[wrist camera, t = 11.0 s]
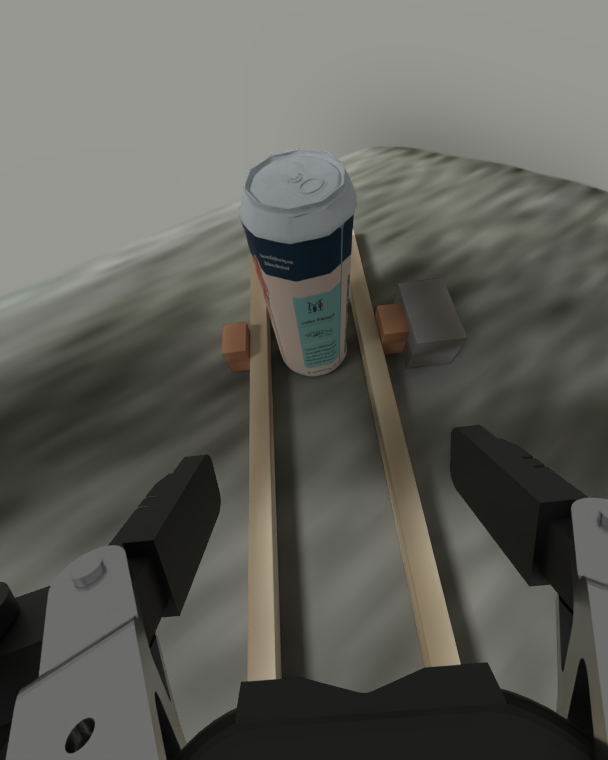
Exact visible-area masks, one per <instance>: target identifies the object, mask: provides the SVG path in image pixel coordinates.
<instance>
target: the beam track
mask: <svg viewBox="0 0 608 760" xmlns="http://www.w3.org/2000/svg"><path fill="white" fill-rule="evenodd" d="M349 298H350V303H351V308H352V313H353V318H354V322H355V327H356V332H357V337H358V342H359V347H360V352H361V357H362V362H363V367H364V372H365V377H366V382H367V386H368V391H369V396H370V401H371V406H372V411H373V416H374V421H375V426H376V431H377V436H378V441H379V445H380V450H381V455H382V460H383V465H384V470H385V475H386V480H387V485H388V490H389V495H390V500H391V505H392V509H393V514H394V519H395V524H396V529H397V534H398V539H399V544H400V549H401V554H402V559H403V564H404V569H405V573H406V578H407V583H408V588H409V593H410V598H411V603H412V608H413V613H414V618H415V623H416V628H417V633H418V637H419V642H420V647H421V652H422V657H423V662H424V667H436V666H449V665H461V663H460V659H459V655H458V651H457V647H456V643H455V639H454V635H453V631H452V627H451V623H450V619H449V615H448V611H447V607H446V603H445V598H444V594H443V590H442V586H441V582H440V578H439V574H438V570H437V566H436V562H435V558H434V554H433V550H432V546H431V542H430V538H429V534H428V530H427V526H426V522H425V518H424V514H423V509H422V505H421V501H420V497H419V493H418V489H417V485H416V481H415V477H414V473H413V469H412V465H411V461H410V457H409V453H408V449H407V445H406V441H405V437H404V433H403V429H402V425H401V420H400V416H399V412H398V408H397V404H396V400H395V396H394V392H393V388H392V384H391V380H390V376H389V372H388V368H387V364H386V360H385V356H384V355H387V354H396V353H402V355H403V359H404V362H405V366H406V369H407V368H415V367H424V366H433V365H442V364H450V363H451V362H452V360H453V359H454V357H455V356H456V354H457V353H458V351H459V350H460V349H461V347H462V346H463V344H464V343H465V341H466V340H467V338H468V337H467V335H466V332H465V330H464V327H463V325H462V323H461V320H460V318H459V316H458V313H457V311H456V308H455V306H454V304H453V301H452V299H451V296H450V294H449V292H448V289H447V287H446V285H445V282H444V280H443V278H435V279H427V280H419V281H412V282H404V283H398V285H397V289H396V293H395V297H394V301H393V304H387V305H379V306H377V309H376V314H375V315H374V311H373V307H372V303H371V299H370V295H369V291H368V287H367V283H366V279H365V275H364V271H363V267H362V263H361V259H360V255H359V251H358V247H357V243H356V238H355V234H354V230H353V233H352V251H351V268H350V285H349ZM221 354H222V356H223V357H224V359H225V360H226V362H227V364H228V365H229V367H230V368H231V370H232V372H240V371H248V370H250V437H249V572H248V681H259V680H272V679H282V670H281V640H280V609H279V579H278V548H277V517H276V487H275V456H274V425H273V395H272V364H271V333H270V315H269V312H268V309H267V305H266V302H265V299H264V295H263V292H262V289H261V285H260V282H259V279H258V275H257V272H256V269H255V265H254V262H253V258H252V255H251V301H250V330H249V328H248V326H247V323H246V322H240V323H232V324H223V335H222V351H221Z"/></svg>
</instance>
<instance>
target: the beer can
mask: <svg viewBox="0 0 608 760" xmlns="http://www.w3.org/2000/svg"><path fill="white" fill-rule="evenodd" d="M243 189H244V193H243V199H242V202H241V205H240V218H241V222H242V225H243V228H244V232H245V235H246V238H247V242H248V245H249V248H250V252H251V255H252V258H253V262H254V265H255V269H256V272H257V275H258V279H259V282H260V285H261V289H262V292H263V295H264V299H265V302H266V305H267V309H268V312H269V315H270V319H271V322H272V326H273V329H274V332H275V336H276V339H277V342H278V346H279V349H280V352H281V356H282V358H283V361H284V362H285V364H286V365H287V366H288V367H289V368H290V369H291V370H293V371H294V372H296V373H298V374H301V375H305V376H320V375H324V374H327V373H329V372H331V371H333V370H335V369H336V368H337V367H338V366H339V365H340V364H341V363H342V361H343V360H344V358H345V356H346V353H347V341H346V338H347V320H348V303H349V285H350V268H351V251H352V233H353V216H354V211H355V208H356V205H357V200H356V192H355V189H354V187H353V184H352V182H351V180H350V178H349V176H348V173H347V172H346V169H345V164H343V163H342V162H341V161H339V160H338V159H337V158H335V157H334V156H333V155H331V154H330V153H328V152H324V151H315V150H307V149H297V150H291V151H287V152H282V153H278V154H274V155H270V156H269V157H267V158H266V159H264V160H263V161H261V162H260V163H258V164H257V165H255V166H254V167H252V168H251V169H249V172H248V174H247V177H246V181H245V184H244V187H243Z"/></svg>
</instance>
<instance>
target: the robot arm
mask: <svg viewBox="0 0 608 760" xmlns="http://www.w3.org/2000/svg"><path fill="white" fill-rule="evenodd" d="M450 472H451V478H452V481H453V484H454V486H455V488H456V490H457V491H458V492H459V494H460V495H461V496H462V498H463V499H464V500H465V502H466V503H467V504H468V506H469V507H470V508H471V510H472V511H473V512H474V514H475V515H476V516H477V518H478V519H479V520H480V522H481V523H482V524H483V526H484V527H485V528H486V530H487V531H488V532H489V533H490V535H491V536H492V537H493V539H494V540H495V541H496V543H497V544H498V545H499V547H500V548H501V549H502V551H503V552H504V553H505V555H506V556H507V557H508V559H509V560H510V561H511V563H512V564H513V565H514V567H515V568H516V569H517V571H518V572H519V573H520V574H521V576H522V577H523V578H524V580H525V581H526V582H527V584H528V585H529V586H539V585H550V584H551V586H552V587H553V588H554V589H555V590H556V592H557V597H556V637H557V673H558V694H557V708H556V712H554V711H553V710H551V709H549V708H548V707H546V706H543V705H541V704H539V703H537V702H535V701H533V700H531V699H529V698H527V697H524V696H522V695H519V694H516V693H513V692H511V691H508V690H504V689H500V687H499V685H498V683H497V681H496V679H495V677H494V675H493V673H492V671H491V669H490V667H489V664H488V662H487V663H474V664H462V665H449V666H436V667H425V668H423V669H421V670H418V671H416V672H414V673H412V674H410V675H407V676H405V677H403V678H401V679H398V680H396V681H394V682H392V683H390V684H387V685H385V686H383V687H381V688H378V689H376V690H374V691H372V692H369V693H359V692H355V691H351V690H347V689H343V688H339V687H336V686H332V685H328V684H324V683H320V682H316V681H313V680H309V679H305V678H301V677H297V678H284V679H272V680H259V681H246V682H241V686H240V692H239V698H238V704H237V708H235V709H233V710H231V711H229V712H227V713H226V714H224V715H222V716H221V717H219V718H218V719H216V720H214V721H213V722H212V723H210V724H209V725H208V726H207V727H205V728H204V729H203V730H202V731H200V732H199V733H198V734H197V735H196V736H195V737H194V738H193V739H192V740H191V741H190V742H189V743H187V744H186V741H185V738H184V735H183V732H182V729H181V725H180V722H179V719H178V715H177V711H176V708H175V704H174V700H173V695H172V691H171V687H170V683H169V679H168V675H167V671H166V667H165V663H164V659H163V655H162V651H161V647H160V643H159V639H158V636H157V634H156V629H157V627H158V624H159V622H160V620H161V617H171V616H180V614H181V611H182V608H183V606H184V603H185V601H186V598H187V595H188V593H189V590H190V588H191V585H192V582H193V580H194V577H195V575H196V572H197V569H198V567H199V564H200V562H201V559H202V556H203V554H204V551H205V549H206V546H207V543H208V541H209V538H210V536H211V533H212V530H213V528H214V525H215V523H216V520H217V517H218V515H219V512H220V505H221V498H220V492H219V488H218V484H217V480H216V476H215V472H214V468H213V464H212V460H211V458H210V456H209V455H199V456H190V457H185V458H183V460H182V461H181V462H180V464H179V465H178V466H177V468H176V469H175V471H174V472H173V473H172V474H168V475H167V476H166V477H164V478H163V479H162V480H160V481H159V482H158V483H157V484H155V485H154V487H153V488H152V489H151V491H150V492H149V493H148V494H147V496H146V499H144V500H143V501H142V502H141V504H140V505H139V506H138V509H136V510H135V511H134V513H133V514H132V515H131V517H130V518H129V519H128V520H127V522H126V523H125V524H124V526H123V527H122V528H121V529H120V531H119V532H118V533H117V535H116V536H115V537H114V539H113V540H112V541H111V542H110V544H109V545H108V546H104V547H100V548H97V549H94V550H92V551H90V552H88V553H86V554H84V555H82V556H81V557H79V558H78V559H76V560H75V561H73V562H72V563H71V564H69V565H68V566H67V567H66V568H65V569H64V570H63V571H62V572H61V573H60V574H59V575H58V576H57V577H56V578H55V580H54V581H53V583H52V585H51V586H48V587H45V588H43V589H40V590H37V591H34V592H31V593H28V594H25V595H22V596H20V597H17V598H15V597H14V596H13V594H12V592H11V590H10V588H9V587H8V585H7V584H6V583H4V582H0V760H608V499H602V498H589V497H587V496H586V495H585V494H583V493H582V492H581V491H579V490H578V489H576V488H575V487H574V486H572V485H571V484H570V483H568V482H567V481H565V480H564V479H563V478H561V477H560V476H559V475H557V474H556V473H555V472H553V471H552V470H550V469H549V468H548V467H546V468H545V466H544V464H542V463H541V462H540V461H538V460H537V459H533V456H531V455H530V454H529V453H527V452H526V451H525V450H523V449H522V448H520V447H519V446H517V445H515V444H512V443H510V442H507V441H505V440H503V439H497V438H496V437H495V436H493V435H492V434H491V433H489V432H488V431H487V430H486V429H484V428H483V427H482V426H480V425H475V426H466V427H457V428H453V430H452V432H451V460H450Z"/></svg>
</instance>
